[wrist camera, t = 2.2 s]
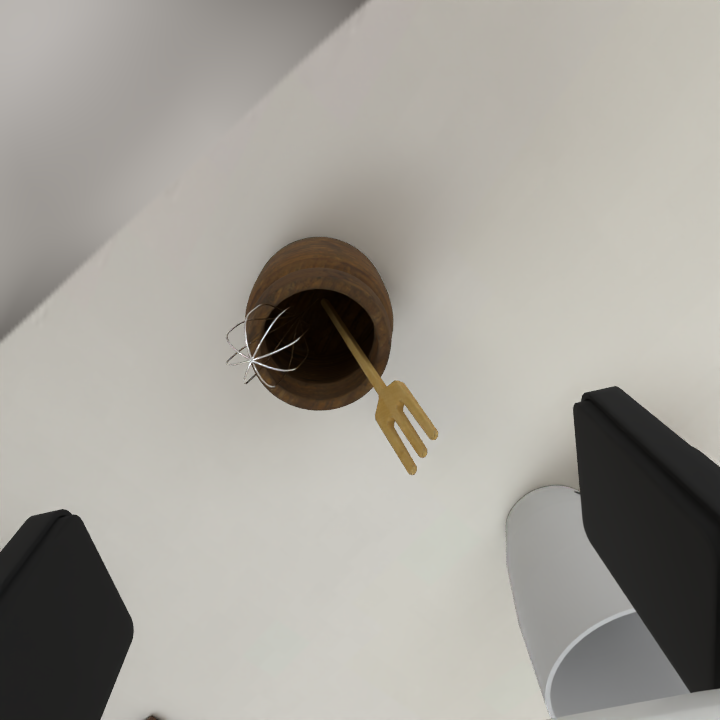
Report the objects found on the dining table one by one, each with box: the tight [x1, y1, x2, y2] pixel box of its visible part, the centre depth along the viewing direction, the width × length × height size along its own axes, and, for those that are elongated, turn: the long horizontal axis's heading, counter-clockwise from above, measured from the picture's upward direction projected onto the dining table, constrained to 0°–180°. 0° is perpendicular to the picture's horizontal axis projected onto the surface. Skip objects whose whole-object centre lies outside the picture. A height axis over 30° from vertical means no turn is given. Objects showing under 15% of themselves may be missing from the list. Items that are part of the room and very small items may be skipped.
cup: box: [506, 485, 690, 719], centre depth 26 cm, size 8×8×10 cm
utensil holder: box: [226, 237, 438, 475], centre depth 20 cm, size 6×6×12 cm
